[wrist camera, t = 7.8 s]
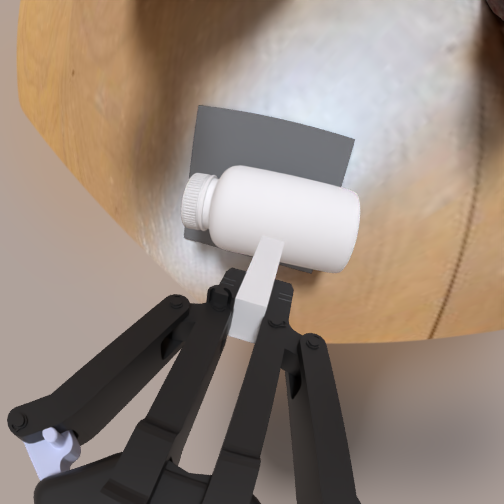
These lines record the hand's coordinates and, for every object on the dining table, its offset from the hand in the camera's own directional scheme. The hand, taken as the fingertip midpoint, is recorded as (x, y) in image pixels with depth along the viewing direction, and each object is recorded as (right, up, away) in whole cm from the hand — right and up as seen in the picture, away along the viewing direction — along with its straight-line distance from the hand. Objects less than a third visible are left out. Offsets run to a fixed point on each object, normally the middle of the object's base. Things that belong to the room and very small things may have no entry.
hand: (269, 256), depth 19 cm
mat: (0, +7, +10) cm, 12 cm away
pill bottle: (+8, +2, +6) cm, 10 cm away
